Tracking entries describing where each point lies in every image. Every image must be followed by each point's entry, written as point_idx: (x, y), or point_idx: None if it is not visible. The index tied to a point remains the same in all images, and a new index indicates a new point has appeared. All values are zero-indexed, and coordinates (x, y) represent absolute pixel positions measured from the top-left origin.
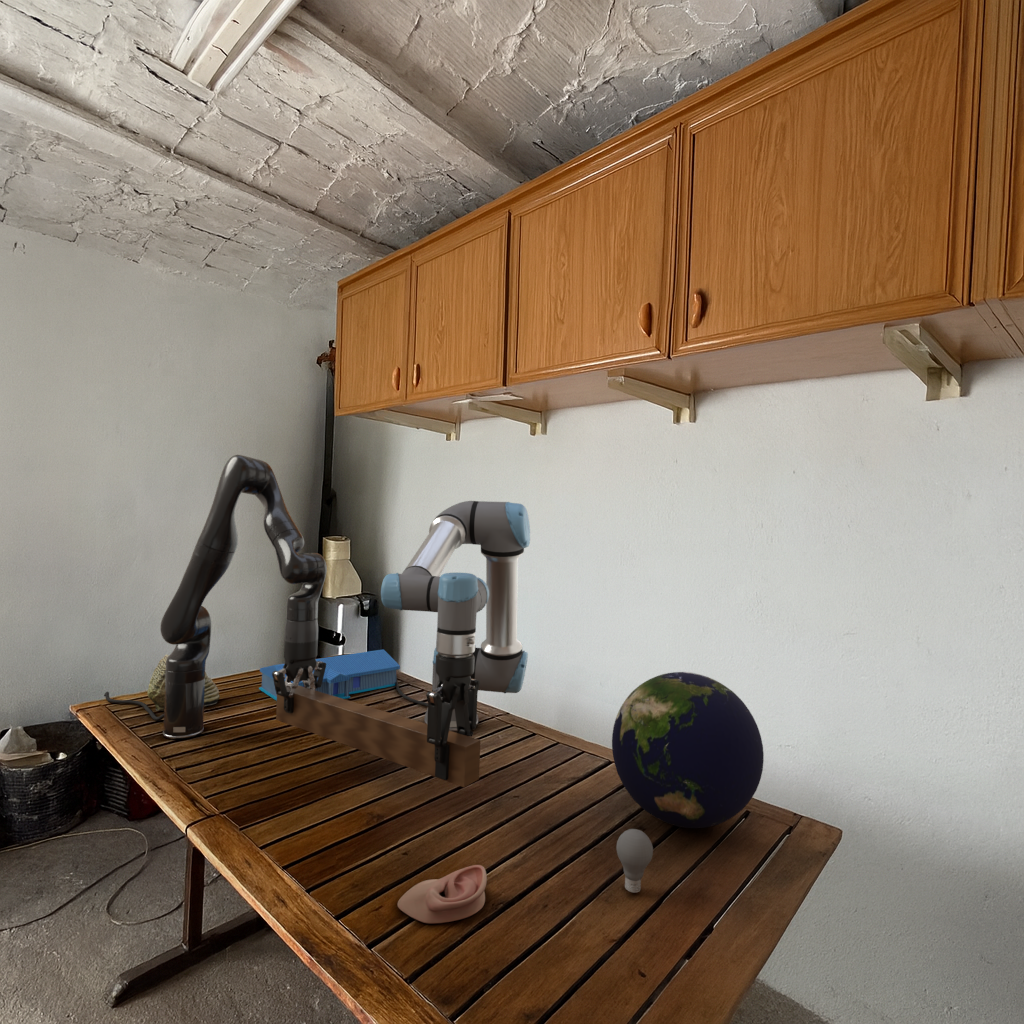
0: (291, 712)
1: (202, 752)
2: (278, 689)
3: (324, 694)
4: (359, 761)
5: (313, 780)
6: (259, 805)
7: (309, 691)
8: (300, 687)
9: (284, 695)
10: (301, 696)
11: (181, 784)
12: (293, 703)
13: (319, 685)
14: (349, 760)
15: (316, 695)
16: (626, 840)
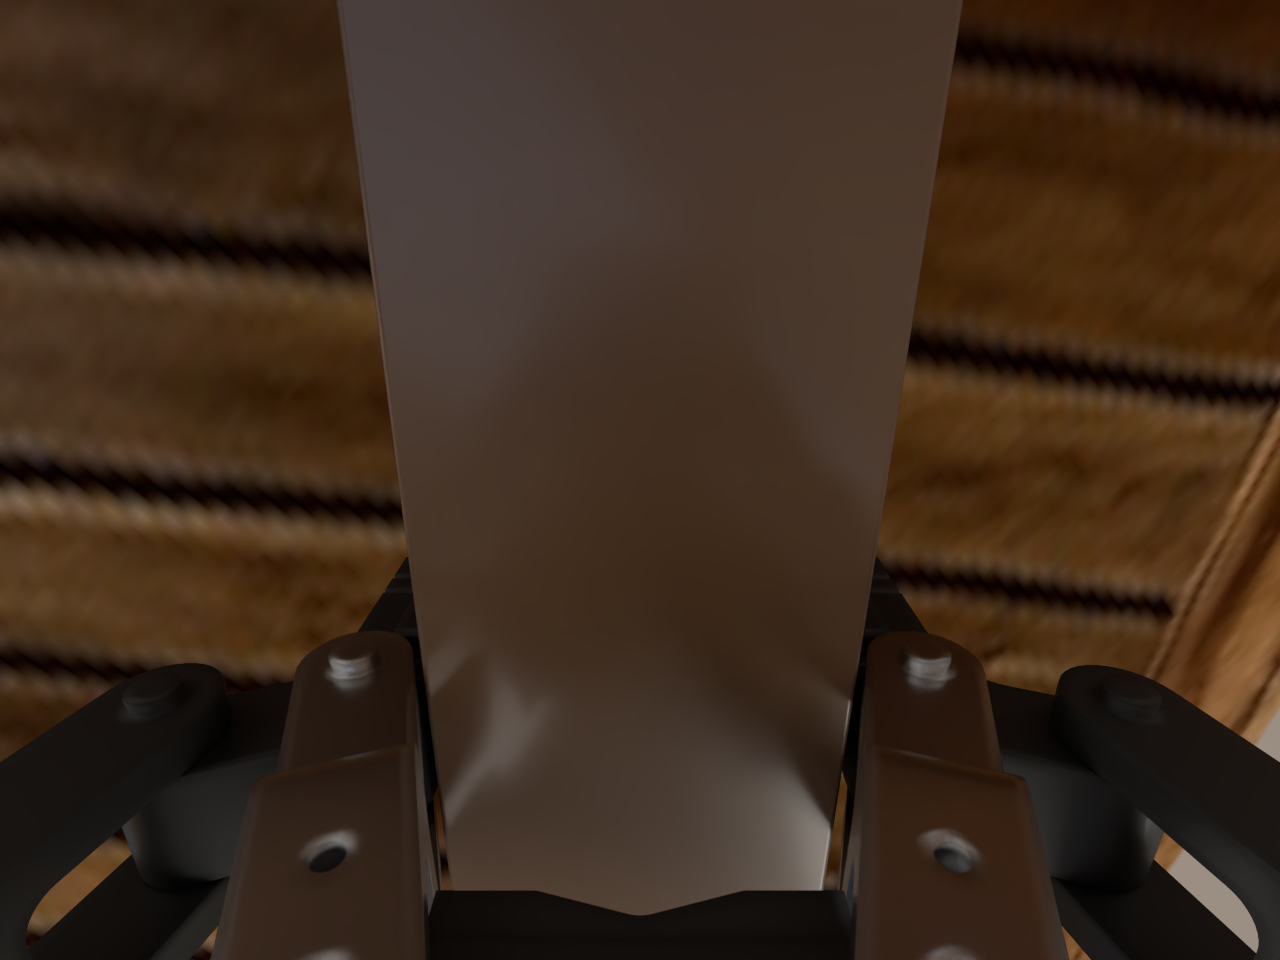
0: None
1: None
2: (1165, 909)
3: (427, 39)
4: (290, 41)
5: None
6: (1243, 11)
7: (556, 559)
8: (515, 864)
9: (1117, 686)
10: (890, 435)
11: (1198, 626)
12: None
13: (170, 683)
14: (341, 127)
15: (653, 146)
16: None
